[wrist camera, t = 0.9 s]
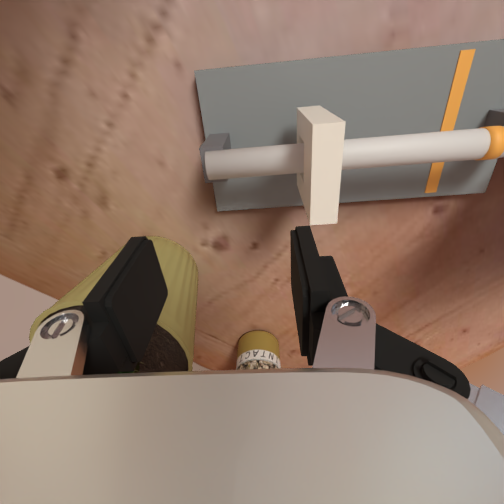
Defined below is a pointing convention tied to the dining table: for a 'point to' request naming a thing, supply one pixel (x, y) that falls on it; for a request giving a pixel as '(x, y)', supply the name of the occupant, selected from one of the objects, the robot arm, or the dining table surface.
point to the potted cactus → (171, 318)
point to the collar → (320, 162)
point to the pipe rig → (357, 123)
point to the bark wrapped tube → (258, 351)
